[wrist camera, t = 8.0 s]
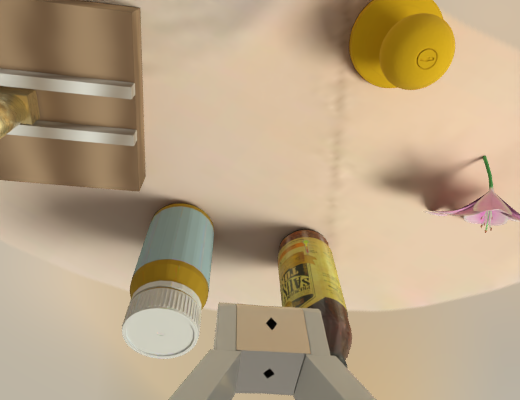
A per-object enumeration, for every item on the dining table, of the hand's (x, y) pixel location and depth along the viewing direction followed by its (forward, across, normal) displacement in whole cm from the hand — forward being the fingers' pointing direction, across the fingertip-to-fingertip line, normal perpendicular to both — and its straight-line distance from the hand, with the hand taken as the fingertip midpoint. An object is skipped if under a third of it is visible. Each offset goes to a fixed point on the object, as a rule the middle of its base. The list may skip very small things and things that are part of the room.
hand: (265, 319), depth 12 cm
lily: (+29, -25, +10) cm, 40 cm away
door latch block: (+29, +20, +4) cm, 35 cm away
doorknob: (+29, -12, -4) cm, 32 cm away
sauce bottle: (+29, -9, +20) cm, 36 cm away
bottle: (+29, +5, +18) cm, 35 cm away
